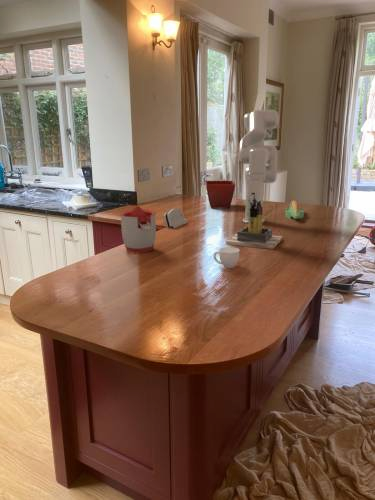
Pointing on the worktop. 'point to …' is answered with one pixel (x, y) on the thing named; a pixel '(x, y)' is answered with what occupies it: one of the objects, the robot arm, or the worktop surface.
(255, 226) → the sauce bottle
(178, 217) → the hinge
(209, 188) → the plant pot
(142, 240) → the citrus juicer
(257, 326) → the worktop surface
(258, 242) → the bottle dock
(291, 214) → the toy spaceship
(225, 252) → the cup
